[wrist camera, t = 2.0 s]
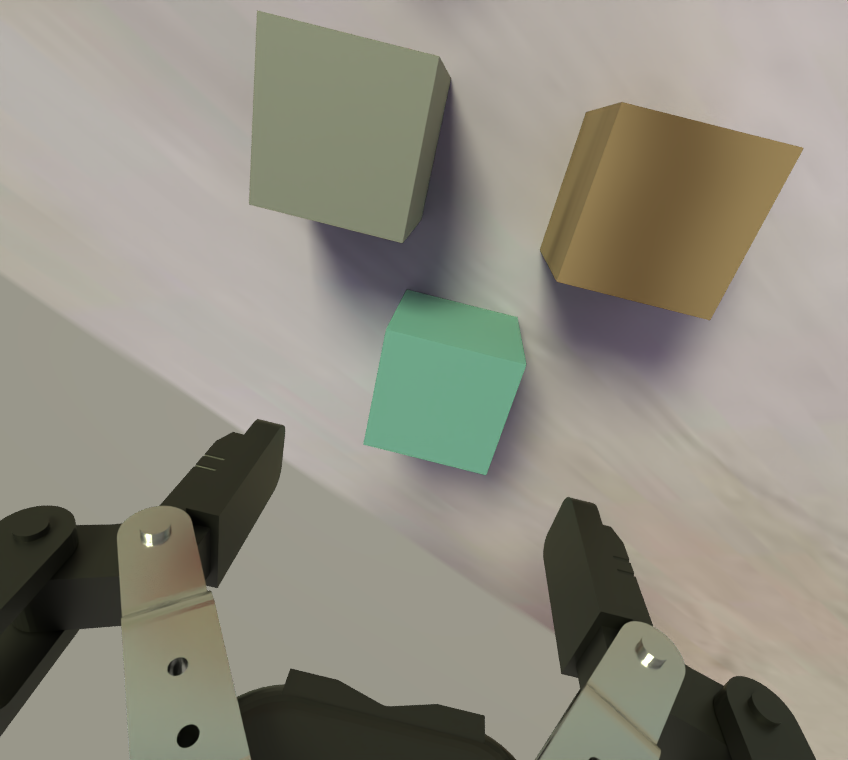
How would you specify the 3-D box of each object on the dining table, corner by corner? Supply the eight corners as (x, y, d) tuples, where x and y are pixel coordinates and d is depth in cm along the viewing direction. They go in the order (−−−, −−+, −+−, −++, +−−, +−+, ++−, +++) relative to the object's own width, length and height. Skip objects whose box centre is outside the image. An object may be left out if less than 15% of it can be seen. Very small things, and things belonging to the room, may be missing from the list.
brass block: (720, 145, 17) (804, 147, 12) (657, 279, 19) (709, 320, 15) (585, 112, 17) (621, 102, 12) (539, 249, 19) (556, 281, 15)
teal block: (517, 316, 21) (526, 364, 16) (485, 410, 23) (486, 475, 19) (406, 289, 21) (386, 329, 16) (386, 385, 23) (363, 444, 19)
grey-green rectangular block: (451, 78, 17) (439, 56, 12) (421, 219, 19) (402, 243, 15) (316, 44, 17) (257, 10, 12) (303, 189, 19) (249, 204, 15)
